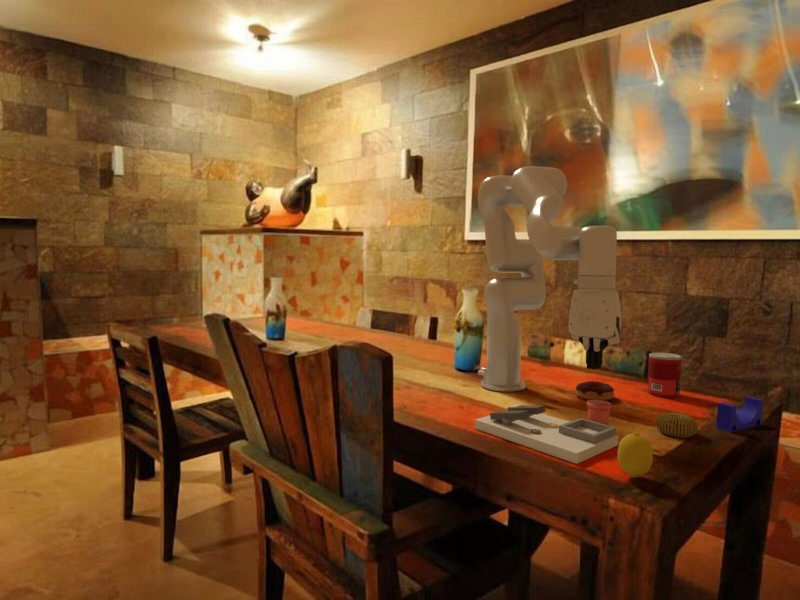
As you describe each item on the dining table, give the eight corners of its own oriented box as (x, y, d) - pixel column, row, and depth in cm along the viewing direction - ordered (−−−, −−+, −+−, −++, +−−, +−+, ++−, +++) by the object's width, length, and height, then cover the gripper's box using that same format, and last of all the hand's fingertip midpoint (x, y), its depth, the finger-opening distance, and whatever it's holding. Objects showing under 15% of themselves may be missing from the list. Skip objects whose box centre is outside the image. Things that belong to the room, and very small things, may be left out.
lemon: (610, 471, 93) (612, 427, 92) (640, 470, 93) (642, 426, 93) (626, 485, 88) (628, 438, 87) (658, 484, 88) (660, 437, 87)
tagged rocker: (508, 418, 118) (507, 406, 118) (517, 415, 120) (515, 404, 120) (538, 418, 112) (536, 406, 112) (546, 415, 114) (544, 403, 114)
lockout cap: (581, 429, 115) (582, 402, 115) (593, 424, 118) (594, 398, 118) (602, 435, 111) (603, 407, 111) (614, 430, 115) (615, 403, 114)
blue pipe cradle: (740, 420, 123) (742, 395, 122) (761, 425, 119) (763, 399, 118) (709, 427, 117) (711, 401, 117) (730, 433, 113) (731, 406, 113)
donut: (597, 391, 147) (598, 377, 147) (622, 401, 138) (623, 386, 138) (567, 394, 144) (567, 380, 144) (590, 404, 135) (591, 389, 134)
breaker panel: (474, 428, 115) (475, 412, 115) (517, 415, 125) (517, 400, 125) (576, 463, 96) (577, 445, 96) (617, 445, 106) (618, 428, 105)
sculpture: (688, 423, 107) (649, 414, 113) (687, 443, 107) (648, 432, 114) (705, 416, 112) (667, 408, 118) (704, 435, 112) (666, 425, 118)
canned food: (683, 399, 140) (685, 358, 139) (651, 397, 141) (653, 357, 140) (674, 391, 147) (676, 353, 146) (644, 390, 149) (645, 351, 148)
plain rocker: (491, 423, 114) (489, 413, 114) (500, 421, 116) (498, 410, 116) (520, 424, 108) (518, 413, 108) (529, 421, 110) (527, 410, 110)
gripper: (555, 283, 116) (553, 365, 117) (621, 286, 104) (618, 376, 106) (574, 282, 120) (572, 361, 122) (639, 284, 109) (636, 371, 110)
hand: (593, 368), depth 114 cm, fingers closed
